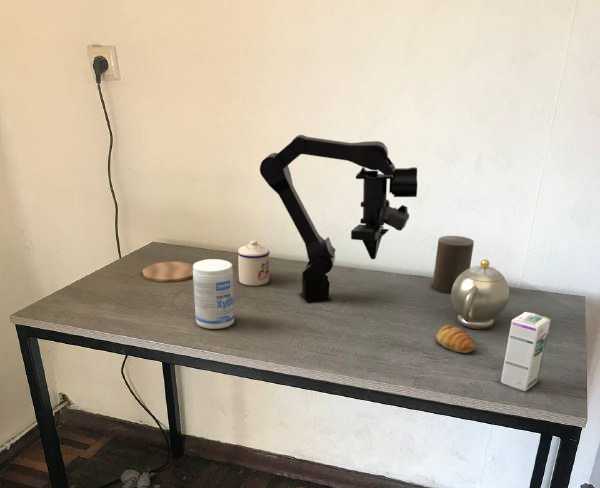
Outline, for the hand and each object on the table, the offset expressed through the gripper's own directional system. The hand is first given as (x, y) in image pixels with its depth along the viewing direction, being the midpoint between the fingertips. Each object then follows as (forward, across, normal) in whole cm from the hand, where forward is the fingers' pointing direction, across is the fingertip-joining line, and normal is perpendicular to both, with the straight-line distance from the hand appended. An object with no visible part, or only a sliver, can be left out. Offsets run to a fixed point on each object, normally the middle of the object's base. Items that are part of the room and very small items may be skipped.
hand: (373, 258), depth 165 cm
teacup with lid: (+10, +2, +36) cm, 37 cm away
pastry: (+13, -18, -26) cm, 34 cm away
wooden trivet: (+9, -4, +61) cm, 62 cm away
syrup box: (+14, -30, -42) cm, 53 cm away
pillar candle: (+13, +20, -17) cm, 29 cm away
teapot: (+13, -4, -28) cm, 31 cm away
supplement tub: (+10, -30, +31) cm, 44 cm away
